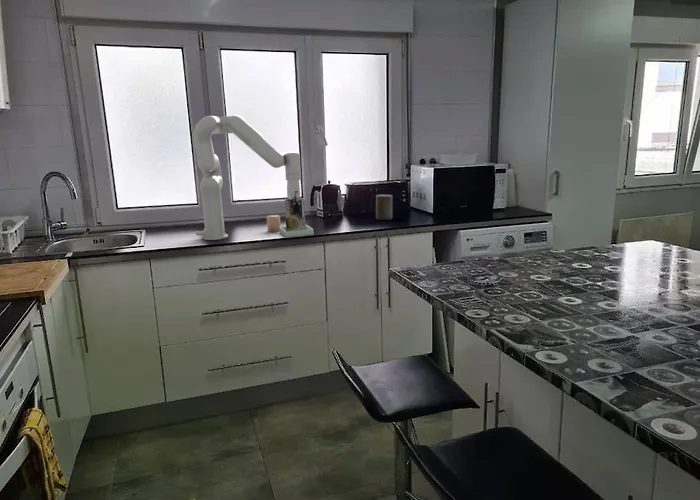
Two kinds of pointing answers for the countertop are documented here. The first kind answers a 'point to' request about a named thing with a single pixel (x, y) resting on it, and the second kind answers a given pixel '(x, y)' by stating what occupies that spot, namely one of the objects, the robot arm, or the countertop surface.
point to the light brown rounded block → (273, 223)
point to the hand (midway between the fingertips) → (294, 211)
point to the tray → (297, 232)
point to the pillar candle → (384, 207)
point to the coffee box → (294, 216)
